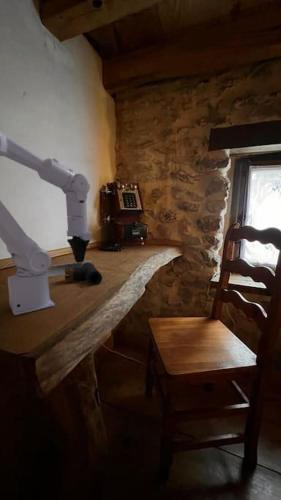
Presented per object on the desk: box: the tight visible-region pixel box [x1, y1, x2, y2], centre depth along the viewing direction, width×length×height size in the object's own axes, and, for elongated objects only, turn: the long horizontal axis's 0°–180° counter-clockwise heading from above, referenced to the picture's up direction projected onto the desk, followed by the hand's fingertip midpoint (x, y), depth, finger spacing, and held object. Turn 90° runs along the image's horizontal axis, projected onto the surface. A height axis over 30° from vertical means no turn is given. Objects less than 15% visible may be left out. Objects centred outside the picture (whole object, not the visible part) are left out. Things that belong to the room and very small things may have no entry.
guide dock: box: [47, 259, 95, 278], centre depth 91 cm, size 20×4×4 cm, turn 126°
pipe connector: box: [64, 262, 103, 286], centre depth 83 cm, size 12×5×15 cm
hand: (79, 261), depth 70 cm, fingers closed
